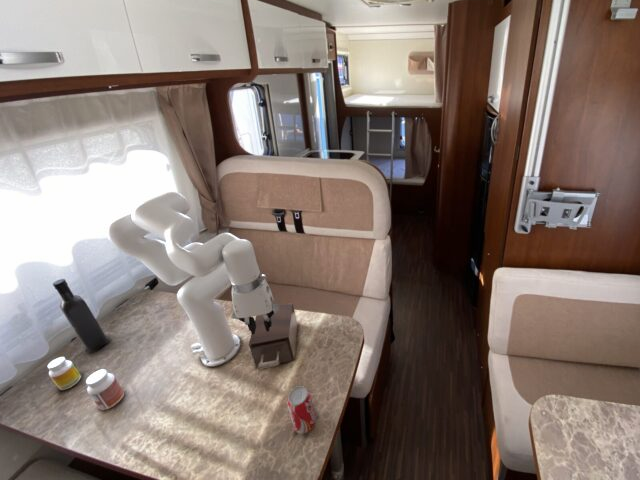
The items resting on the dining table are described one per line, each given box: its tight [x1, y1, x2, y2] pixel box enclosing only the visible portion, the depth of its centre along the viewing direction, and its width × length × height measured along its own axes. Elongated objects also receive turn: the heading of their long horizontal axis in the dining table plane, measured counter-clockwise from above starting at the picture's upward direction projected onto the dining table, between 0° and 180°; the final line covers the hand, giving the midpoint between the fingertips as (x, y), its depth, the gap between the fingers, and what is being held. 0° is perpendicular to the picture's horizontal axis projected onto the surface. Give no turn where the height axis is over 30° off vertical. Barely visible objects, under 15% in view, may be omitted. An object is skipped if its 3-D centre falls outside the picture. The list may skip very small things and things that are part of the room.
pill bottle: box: [85, 368, 125, 411], centre depth 91 cm, size 6×6×11 cm
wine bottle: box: [52, 278, 109, 353], centre depth 107 cm, size 6×6×30 cm
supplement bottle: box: [47, 356, 82, 391], centre depth 98 cm, size 5×5×10 cm
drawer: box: [249, 339, 293, 370], centre depth 103 cm, size 19×11×9 cm, turn 11°
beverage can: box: [286, 385, 317, 435], centre depth 82 cm, size 6×6×12 cm
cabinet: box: [248, 302, 299, 367], centre depth 107 cm, size 16×13×11 cm
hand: (261, 328), depth 92 cm, fingers open, 3 cm apart
